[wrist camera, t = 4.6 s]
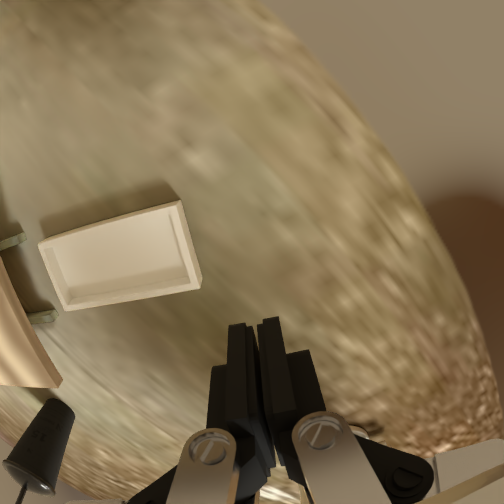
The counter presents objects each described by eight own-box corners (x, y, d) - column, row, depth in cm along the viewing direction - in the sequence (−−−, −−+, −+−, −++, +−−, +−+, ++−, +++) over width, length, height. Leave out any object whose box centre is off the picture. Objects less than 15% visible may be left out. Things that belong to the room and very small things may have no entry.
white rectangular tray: (181, 199, 24) (176, 205, 22) (202, 277, 27) (200, 288, 25) (48, 237, 25) (37, 244, 23) (73, 301, 27) (65, 311, 26)
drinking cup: (90, 431, 35) (52, 540, 17) (49, 419, 35) (5, 516, 16) (75, 398, 33) (22, 518, 14) (32, 386, 32) (-26, 490, 14)
